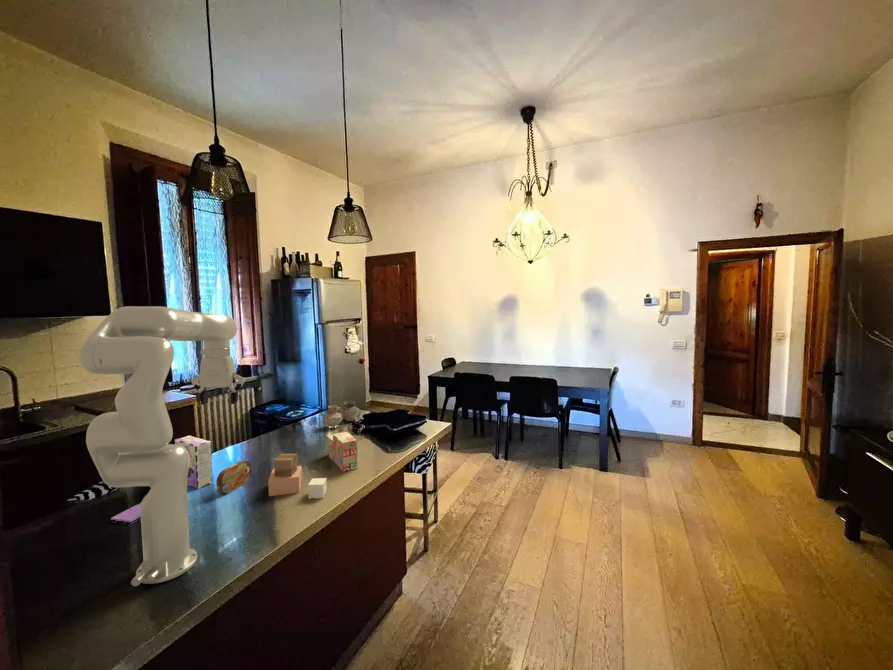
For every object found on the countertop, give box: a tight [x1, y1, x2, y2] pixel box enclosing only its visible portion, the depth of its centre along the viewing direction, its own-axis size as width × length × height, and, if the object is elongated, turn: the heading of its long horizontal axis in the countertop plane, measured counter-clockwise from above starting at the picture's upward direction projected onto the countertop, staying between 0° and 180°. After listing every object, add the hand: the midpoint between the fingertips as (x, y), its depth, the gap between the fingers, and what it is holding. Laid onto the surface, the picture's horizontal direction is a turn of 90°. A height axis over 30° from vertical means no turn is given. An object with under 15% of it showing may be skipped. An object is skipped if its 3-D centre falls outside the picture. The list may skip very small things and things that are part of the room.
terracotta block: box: [267, 465, 303, 497], centre depth 141 cm, size 10×10×6 cm
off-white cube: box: [307, 477, 328, 500], centre depth 135 cm, size 5×5×5 cm
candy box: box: [174, 435, 213, 490], centre depth 145 cm, size 14×6×16 cm, turn 62°
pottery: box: [323, 400, 360, 427], centre depth 218 cm, size 11×25×12 cm, turn 157°
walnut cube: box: [273, 453, 298, 477], centre depth 140 cm, size 6×6×6 cm
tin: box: [215, 460, 252, 494], centre depth 141 cm, size 15×3×8 cm, turn 168°
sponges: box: [110, 501, 142, 523], centre depth 124 cm, size 7×13×2 cm, turn 169°
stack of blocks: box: [325, 431, 358, 472], centre depth 165 cm, size 21×6×12 cm, turn 34°
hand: (219, 403), depth 131 cm, fingers open, 9 cm apart
